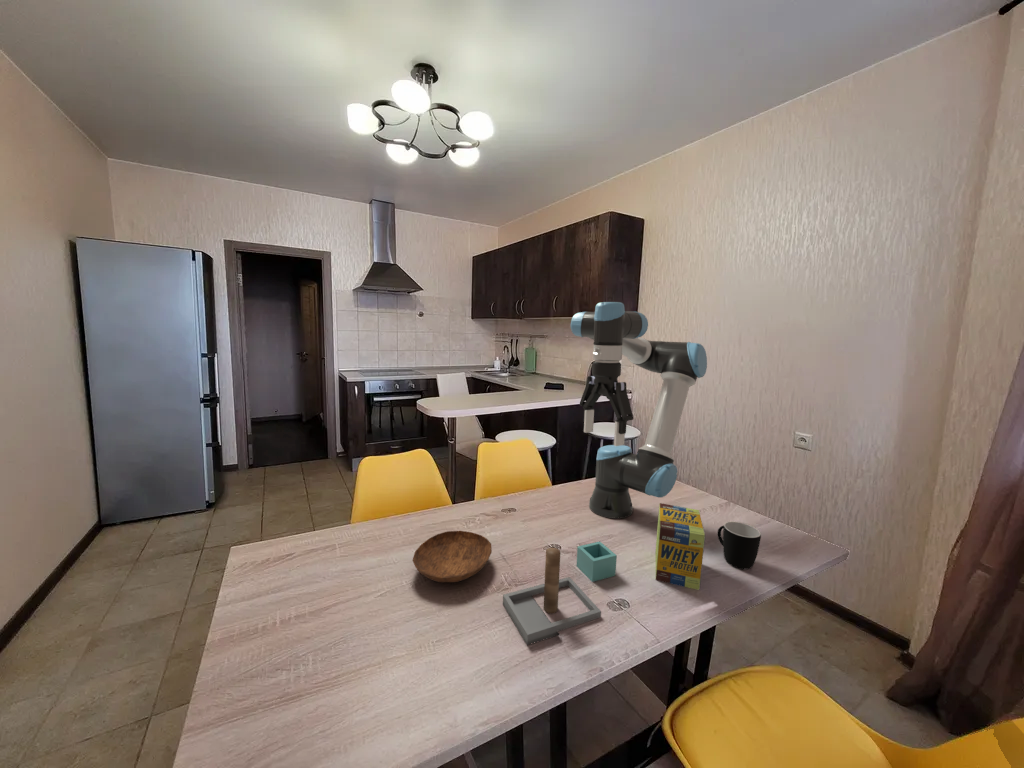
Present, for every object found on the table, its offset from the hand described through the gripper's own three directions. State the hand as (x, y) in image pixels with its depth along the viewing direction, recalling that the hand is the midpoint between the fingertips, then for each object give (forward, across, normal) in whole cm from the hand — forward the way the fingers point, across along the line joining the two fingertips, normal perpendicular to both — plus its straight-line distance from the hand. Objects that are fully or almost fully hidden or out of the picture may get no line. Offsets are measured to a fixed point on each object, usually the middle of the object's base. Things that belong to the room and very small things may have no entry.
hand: (602, 438), depth 108 cm
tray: (+34, +16, -24) cm, 45 cm away
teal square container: (+34, +8, -6) cm, 36 cm away
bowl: (+34, -8, -40) cm, 53 cm away
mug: (+35, +17, +35) cm, 52 cm away
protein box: (+35, +15, +15) cm, 41 cm away
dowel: (+33, +16, -24) cm, 44 cm away
